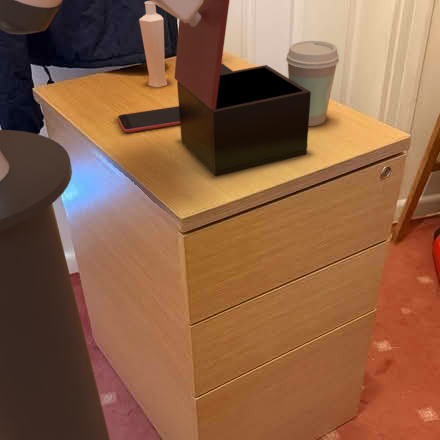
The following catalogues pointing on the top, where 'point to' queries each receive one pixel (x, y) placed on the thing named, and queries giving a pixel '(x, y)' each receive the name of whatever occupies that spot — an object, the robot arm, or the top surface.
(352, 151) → the top surface
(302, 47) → the coffee cup
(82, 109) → the top surface
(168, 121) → the smartphone
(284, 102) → the box
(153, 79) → the white pentagonal vase
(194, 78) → the box lid
